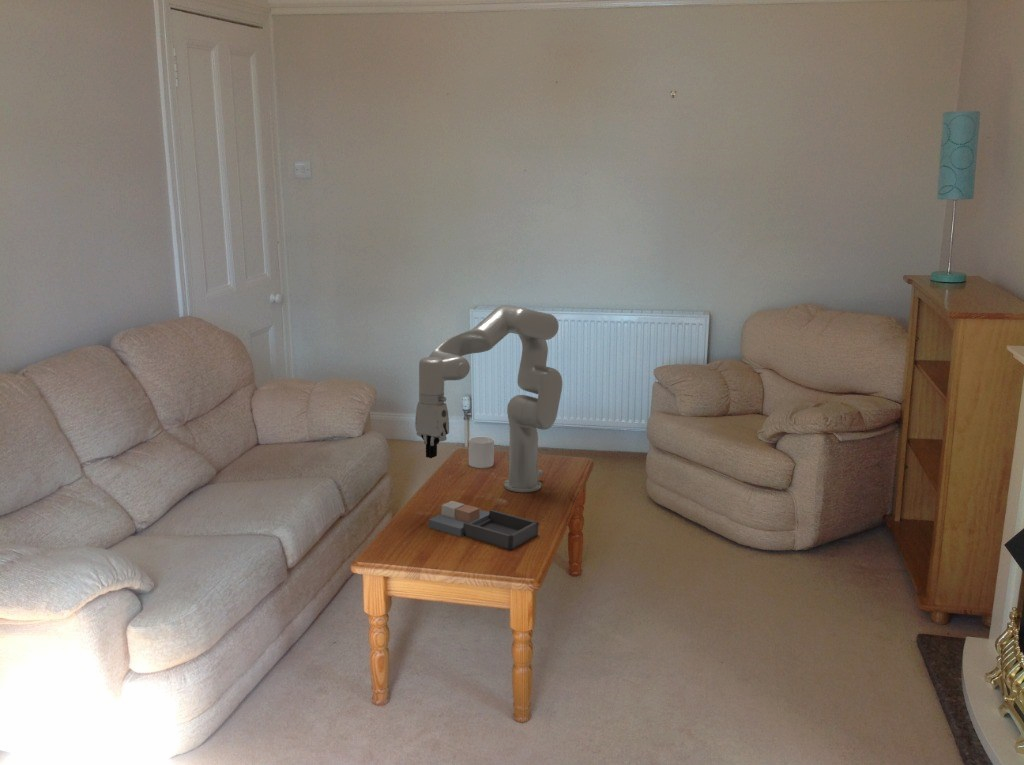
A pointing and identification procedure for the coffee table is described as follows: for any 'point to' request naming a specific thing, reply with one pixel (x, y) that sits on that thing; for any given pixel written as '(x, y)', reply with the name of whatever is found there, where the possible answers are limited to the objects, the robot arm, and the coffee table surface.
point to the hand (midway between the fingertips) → (431, 456)
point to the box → (502, 530)
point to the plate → (454, 523)
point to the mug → (481, 452)
